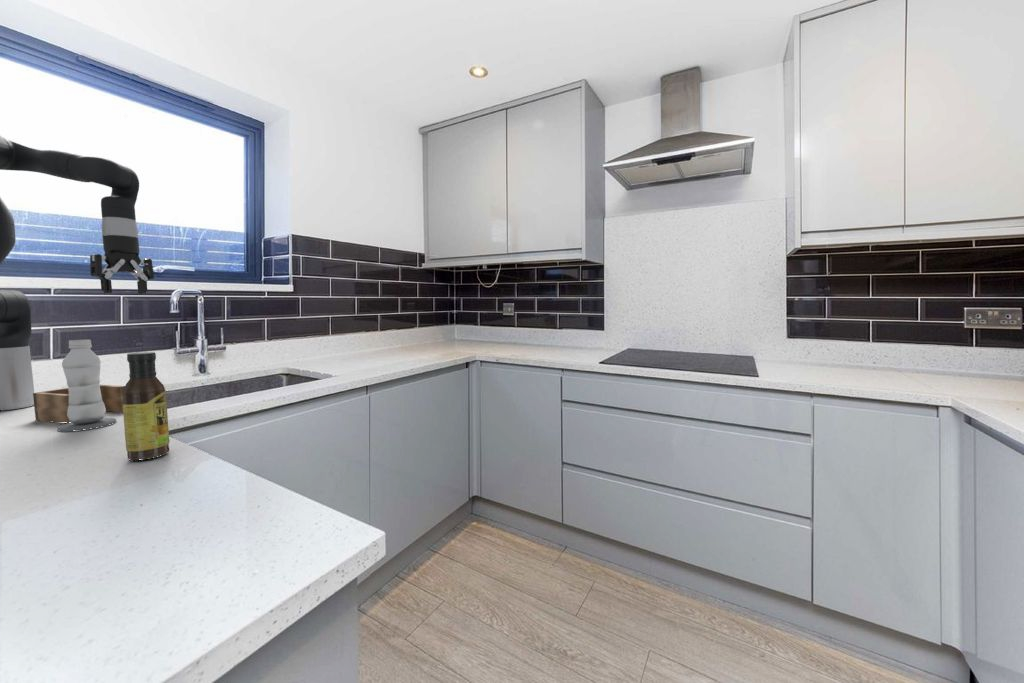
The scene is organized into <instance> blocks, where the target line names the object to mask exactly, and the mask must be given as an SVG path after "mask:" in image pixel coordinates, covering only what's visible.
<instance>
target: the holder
mask: <svg viewBox="0 0 1024 683" xmlns="http://www.w3.org/2000/svg"><path fill="white" fill-rule="evenodd" d="M124 387H125V386H124V385H115V384H114V385H113V384H100V391H101V395H102V400H103V402H104V405H105V408H106V412H109V411H114V412H113V413H120V412H121V414H122V413H123V388H124ZM33 399H34V405H33V406H34V416H35V417H34V418H35V421H36V420H41V421H40V422H45V421H53V422H52V423H55V422H67V423H69V422H70V421H69V419H68V416H67V410H68V406H69V391H68V387H66V388H64V387H63V388H58V389H51V390H46V391H45V390H44V391H38V392H34V393H33Z"/></svg>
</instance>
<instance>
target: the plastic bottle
mask: <svg viewBox="0 0 1024 683" xmlns="http://www.w3.org/2000/svg"><path fill="white" fill-rule="evenodd" d="M92 347H93V346H92V340H91V339H70V340H68V349H70V351H69V352H68V353H67V354H66V355H65V357H64V358H63V359H62V362H61V366H62V368H63V369H62V370H63V373H64V376H65V379H66V385H67V386H68V387H67V388H68V391H69V406H68V410H67V416H68V419H69V421H70V422H71V423H73V424H89V423H93V422H96V421H99V420H102V419H103V418H106V413H107V411H106V408H105V405H104V402H103V400H102V395H101V391H100V385H101V384H100V382H101V381H100V380H101V379H100V375H101V359H100V357H99V356H98V355H97V354H96V353H95V352H94V351H93V350H92V349H91V348H92Z"/></svg>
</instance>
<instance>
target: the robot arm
mask: <svg viewBox="0 0 1024 683" xmlns="http://www.w3.org/2000/svg"><path fill="white" fill-rule="evenodd" d="M0 170H2V171H22V172H32V173H40V174H45V175H49V176H53V177H57V178H61V179H66V180H70V181H76V182H81V183H95V184H98V185H102V186H106V187H109V188H111V193H110V195H107V196H104V197H101V201H100V208H101V210H100V211H101V235H102V236H101V238H102V245H103V246H102V247H103V251H104V254H103V255H101V254H100V253H94V254H90V256H89V258H90V259H89V268H90V270H89V271H90V276H91V277H93V278H94V277H95V278H96V279H97V278H98V279H99V280H100V287H101V288H100V290H101V291H102V292H103V293H104V294H112V293H113V287H112V285H113V284H112V280H111V279H110V278H112V276H113V275H114V274H116V273H118V272H119V273H130V275H132V276H134V278H135V279H136V280H137V282H136V286H137V293H138V294H139V295H146V294H147V293H148V281H150V280H153V279H155V275H154V267H153V266H154V265H153V260H152V259H151V258H141V257H140V256H139V255H140V243H139V242H140V240H139V230H138V226H137V221H136V208H135V205H136V202H137V200H138V194H139V189H140V180H139V177H138V175H137V173H136V171H134V170H133V169H132V168H131V167H128V166H127V165H123V164H122V163H118V162H116V161H113V160H111V159H109V158H105V157H98V156H87V155H85V156H84V155H82V154H76V153H72V152H66V151H60V150H55V149H53V150H52V149H38V148H37V149H36V148H32V147H29V146H26V145H23V144H20V143H17V142H15V141H13V140H11V139H7V138H5V137H4V136H2V135H0ZM15 224H16V223H15V219H14V216H13V213H11V211H10V209H9V208H8V206H7V205H6V203H5V202H4V201H3V199H2V197H0V265H1V264H2V262H4V261H5V259H6V258H7V257H8V256H9V254H10V253H11V252H12V250H13V249H14V247H15V245H16V227H15V226H16V225H15ZM103 262H105V263H106V266H104V268H103ZM140 266H141V267H142V268H141V267H140ZM32 331H33V330H32V309H31V304H30V300H29V298H28V297H27V296H26V295H25V294H24V293H23V292H21V291H19V290H14V289H0V410H1V411H9V410H17V409H23V408H28V407H31V406H34V399H33V393H35V386H34V376H33V366H32V358H31V350H30V340H31V336H32Z"/></svg>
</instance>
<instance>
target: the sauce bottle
mask: <svg viewBox="0 0 1024 683" xmlns="http://www.w3.org/2000/svg"><path fill="white" fill-rule="evenodd" d="M156 356H157V354H156V352H155V351H150V352H148V351H143V352H140V351H139V352H129V353H127V354H126V361H127V362H128V367H129V375H128V376H129V380H128V381H127V382H126V384H125V387H124V388H123V426H124V427H123V428H124V437H125V449H126V451H127V460H129V459H130V460H139V459H148V458H153V457H157V456H160V455H163V454H165V453H167V452H168V451H169V452H170V447H169V444H170V434H169V432H170V431H169V418H168V405H167V404H168V403H167V392H166V389H165V386H164V384H163V383H162V381H160V379H159V378H158V376H157V371H156V359H157V357H156ZM169 452H168V453H169ZM168 453H167V454H168ZM165 455H166V454H165ZM163 456H164V455H163ZM157 458H158V457H157ZM153 459H154V458H153ZM130 460H129V461H130ZM148 460H149V459H148Z"/></svg>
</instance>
